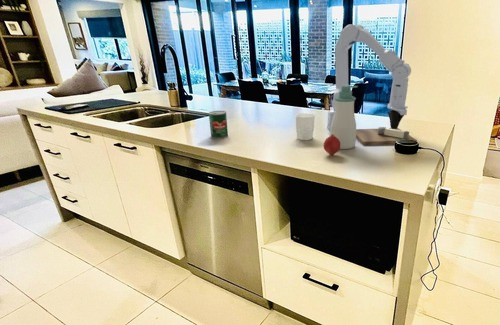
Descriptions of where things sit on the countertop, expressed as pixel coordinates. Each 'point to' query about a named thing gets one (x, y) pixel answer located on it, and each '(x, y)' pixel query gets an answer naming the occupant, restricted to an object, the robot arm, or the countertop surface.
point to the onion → (332, 145)
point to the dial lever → (393, 132)
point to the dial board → (376, 137)
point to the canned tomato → (218, 124)
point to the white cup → (305, 126)
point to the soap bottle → (344, 118)
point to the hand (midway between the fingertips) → (393, 128)
